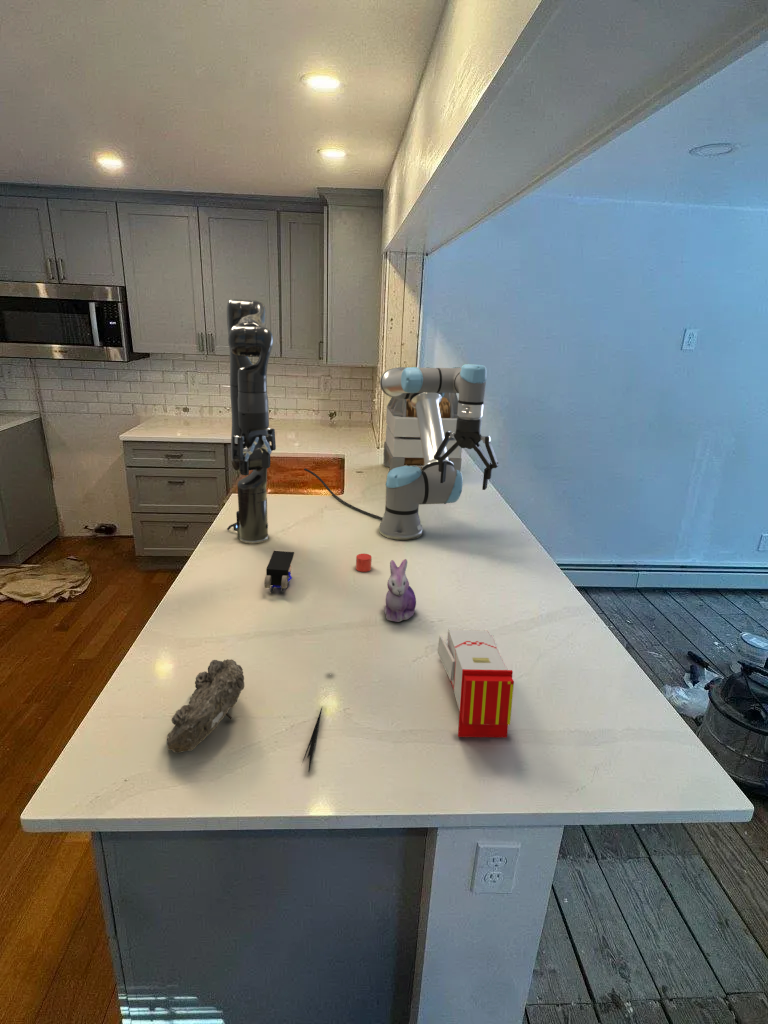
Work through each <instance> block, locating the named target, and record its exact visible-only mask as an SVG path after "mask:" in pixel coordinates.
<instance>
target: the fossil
mask: <svg viewBox="0 0 768 1024" xmlns="http://www.w3.org/2000/svg"><path fill="white" fill-rule="evenodd" d="M243 670H244V669H243V667H242V665H240V664H237V662H236V661H235V660H234V659H232V658H231V659H227V658H226V659H224V660H223V661H222V660H217V659H212V660H211V661H210V663H209V665H208V666H207V671H201V672H199V673H198V674H197V675H196V676H195V680H194V684H195V685H194V687H195V689H194V690H193V693H192V694H191V697H190V698H189V700H188V704H184V705H182V706H181V707H180V709H177V710H176V711H175V713H174V715H173V716H172V718H171V723H172V724H173V727H172V730H171V731H170V732H168V734H167V738H166V741H167V742H166V745H167V749H168V750H169V751H173V752H174V753H176V754H178V753H182V752H188V751H189V752H192V751H193V750H195V748H196V747H197V746H199V744H200V743H201V742H203V741H204V740H205V739H206V738H207V737H208V736H209V735H210V734H211V733H212V732H214V730H215V729H217V727H218V726H219V724H220V722H221V721H222V720H223V719H224V718H225V716H226V717H227V719H229V720H233V717H232V715H230V714H229V710H230V709H231V708H234V706H235V704H236V703H237V702H238V699H239V697H240V695H241V693H242V691H243V690H245V689H244V688H245V675H244V671H243Z"/></svg>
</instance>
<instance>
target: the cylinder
mask: <svg viewBox="0 0 768 1024" xmlns="http://www.w3.org/2000/svg"><path fill="white" fill-rule="evenodd" d="M355 558H356V560H355V561H356V562H355V570H356V571H357V572H361V573H367V572H370V571H371V570H372V558H373V557H372V555H371V554H369V553H359V554H356V556H355Z"/></svg>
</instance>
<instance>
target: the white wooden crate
mask: <svg viewBox="0 0 768 1024" xmlns="http://www.w3.org/2000/svg"><path fill="white" fill-rule="evenodd" d="M458 400H459V397H458V395H457V393H444V396H443V398H442V399H441V402H440V403H439V404H438V405H439V410H440V416H441V421H442V427H443V433H444V438H445V433H446V432H447V431H449V430H450V431H451V432H454V433H455V432H456V423H457V418H458V417H459V416H458V415H457V413H458ZM385 414H386V415H385V423H386V428H385V438H384V442H383V466H384V467H388V468H389V471H390V470H392V469H394V468H397V467H401V466H416V467H423V466H424V465H425V463H424V457H423V451H422V444H421V438H420V432H419V426H418V420H417V414H416V408H414V407H412V406H411V402H410V399H396V398H392V397H390V400H389V402H388V404H387V405H386V413H385ZM456 442H457V441H456V440H455V438H454V436H453V437H452V438H451V439H450V440H449V442H448V443H447V445H446V449H447V451H448V450H449V449H450V448H451V447H452V446H453V445H454V444H455V443H456ZM462 453H463V448H461V447H460V446H458V447H457V448H456V449H455V450H454V451H453V452H452V453H451V454H450V455H449V456H448V460H449V461H451V462H452V463H453V464H454V469H455V470H459V471H460V472H461V473H462V461H463V460H462Z"/></svg>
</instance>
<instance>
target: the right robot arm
mask: <svg viewBox="0 0 768 1024" xmlns="http://www.w3.org/2000/svg"><path fill="white" fill-rule="evenodd" d="M487 378H488V377H487V367H486V366H485V365H483V364H476V363H465V364H463V365H462V366H460V367H459V366H455V367H454V366H453V367H429V366H428V367H427V366H426V367H417V366H412V367H408V366H407V367H405V366H398V367H393V368H390V369H387V370H385V371H384V372H383V373H382V375H381V376H380V380H379V386H380V390H381V391H382V392H383V394H385V395H386V396H387V397H390V398H396V399H410V402H411V406H412V407H414V408H416V414H417V420H418V426H419V432H420V438H421V444H422V451H423V457H424V463H425V465H424V466H421V467H420V466H407V465H404V466H401V467H397V468H394V469H392V470H390V469H389V470H388V472H387V475H386V480H385V504H384V505H385V507H384V508H385V509H384V513H383V515H382V516H380V515H377V514H374V513H371V512H369V511H365V510H363V509H361V508H359V507H356V506H355V505H352V504H350V503H348V502H347V501H345V500H343V499H342V498H340V496H338V495H336V494H335V493H334V492H333V491H332V490H331V488H329V486H328V485H327V484H326V482H325V481H324V480H323V479H322V478H321V477H320V476H319V475H318V474H316V473H315V472H314V471H312V470H310V469H308V468H305V467H304V468H303V470H304V471H305V472H307V473H309V474H311V475H312V476H314V477H315V478H316V479H317V480H319V482H320V483H321V484H322V485H323V486H324V487H325V489H326V490H327V491H328V492H329V493H330V495H332V496H333V497H334V498H335V499H336V500H338V502H340V503H342V504H343V505H345V506H347V507H349V508H351V509H353V510H355V511H357V512H359V513H362V514H364V515H367V516H369V517H372V518H375V519H378V520H381V522H379V526H378V533H379V534H380V535H381V536H382V537H385V538H387V539H389V540H395V541H410V540H415V539H418V538H420V537H421V536H422V535H423V525H422V524H421V518H420V515H419V507H420V505H447V504H455V503H457V501H458V500H460V497H461V494H462V491H463V485H464V484H463V481H464V479H463V474H462V471H461V472H460V471H459V470H455V469H454V464H453V463H452V462H451V461H449V460H448V456H449V455H450V454H451V453H452V452H453V451H454V450H455V449H456V448H457V447H458V446H460V447H461V448H462V449H467V450H474V452H475V453H476V454H477V455H478V457H479V458H480V460H481V462H482V463H483V464H484V466H485V468H484V469H483V477H482V489H481V490H482V491H485V490H487V488H488V481H489V480H491V478H492V475H493V469H497V468H498V467H499V466H500V463H499V460H498V457H497V455H496V452H495V450H494V447H493V444H492V436H491V435H490V434H488V435H482V425H483V419H482V417H483V415H484V414H483V413H484V403H485V393H486V384H487ZM444 393H456V394H458V413H457V415H458V416H459V417H458V418H457V423H456V432H455V433H454V432H451V431H450V430H449V431H447V432H446V433H445V438H444V433H443V427H442V421H441V416H440V410H439V405H438V404H439V403H440V402H441V399H442V398H443V396H444ZM453 436H454V438H455V440H456V441H457V442H456V443H455V444H454V445H453V446H452V447H451V448H450V449H449V450H448V451H447V449H446V445H447V443H448V442H449V440H450V439H451V438H452V437H453ZM481 441H482V443H483V444H484V445H485V448H486V449H485V450H486V452H487V454H488V456H487V454H486V452H485V451H484V449H483V448H482V446H481V444H480V442H481Z"/></svg>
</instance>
